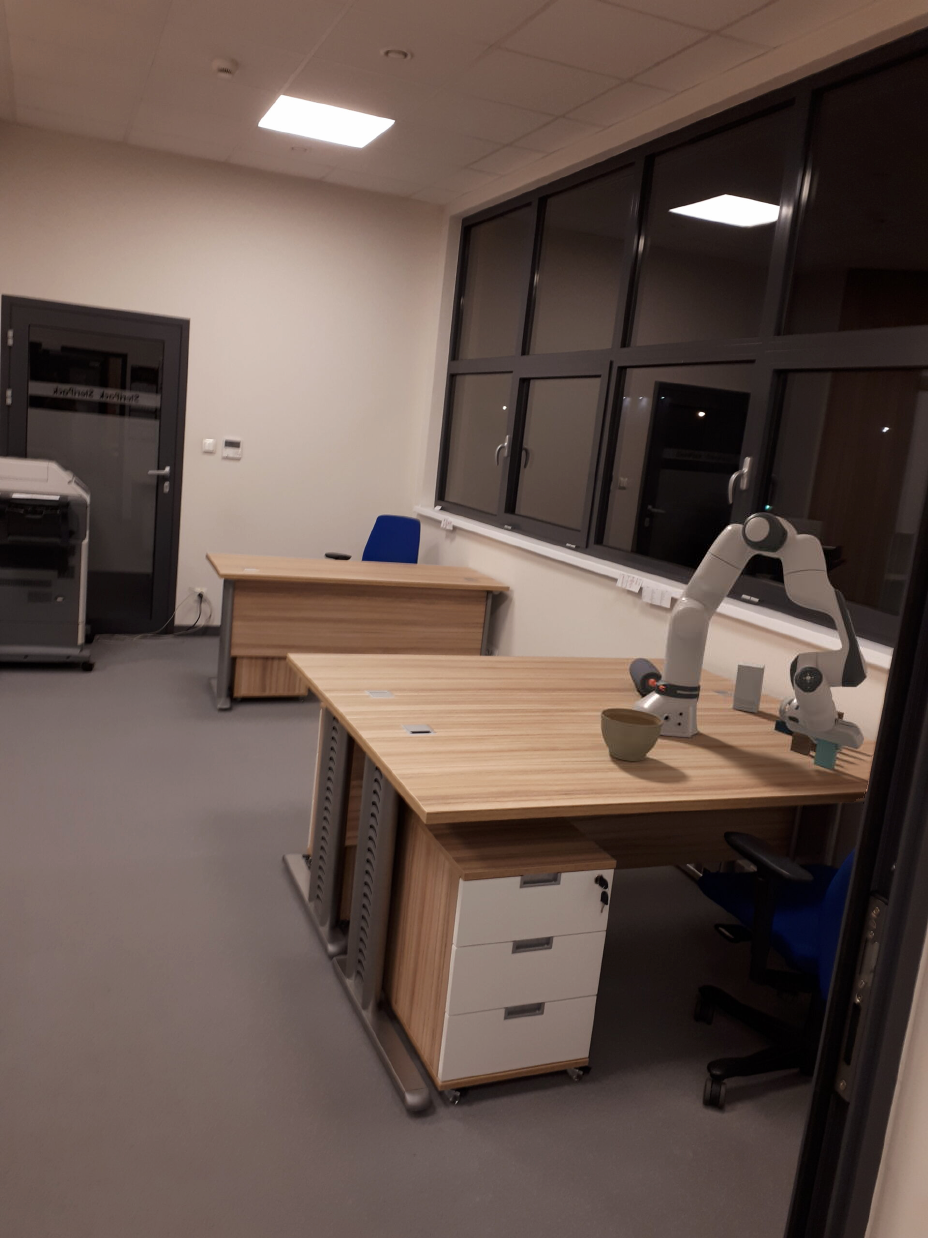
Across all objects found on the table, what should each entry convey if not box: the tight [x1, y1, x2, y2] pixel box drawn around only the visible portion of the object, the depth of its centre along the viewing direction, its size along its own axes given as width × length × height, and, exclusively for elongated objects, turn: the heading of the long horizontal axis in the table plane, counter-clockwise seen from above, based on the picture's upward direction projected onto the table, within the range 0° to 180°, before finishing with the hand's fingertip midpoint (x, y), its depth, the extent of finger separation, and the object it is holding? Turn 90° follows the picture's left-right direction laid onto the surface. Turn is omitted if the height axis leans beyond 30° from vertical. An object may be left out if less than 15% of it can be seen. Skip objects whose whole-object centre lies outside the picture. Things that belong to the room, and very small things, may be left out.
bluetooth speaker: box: [628, 657, 662, 696], centre depth 326 cm, size 23×9×10 cm, turn 179°
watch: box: [773, 696, 795, 736], centre depth 292 cm, size 6×8×11 cm
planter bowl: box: [600, 707, 663, 762], centre depth 248 cm, size 16×16×11 cm
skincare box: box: [731, 661, 766, 714], centre depth 316 cm, size 8×7×16 cm
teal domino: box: [813, 738, 839, 770], centre depth 259 cm, size 2×5×10 cm, turn 45°
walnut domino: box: [789, 731, 812, 756], centre depth 271 cm, size 2×5×10 cm, turn 46°
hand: (828, 745), depth 260 cm, fingers closed on teal domino, 5 cm apart
